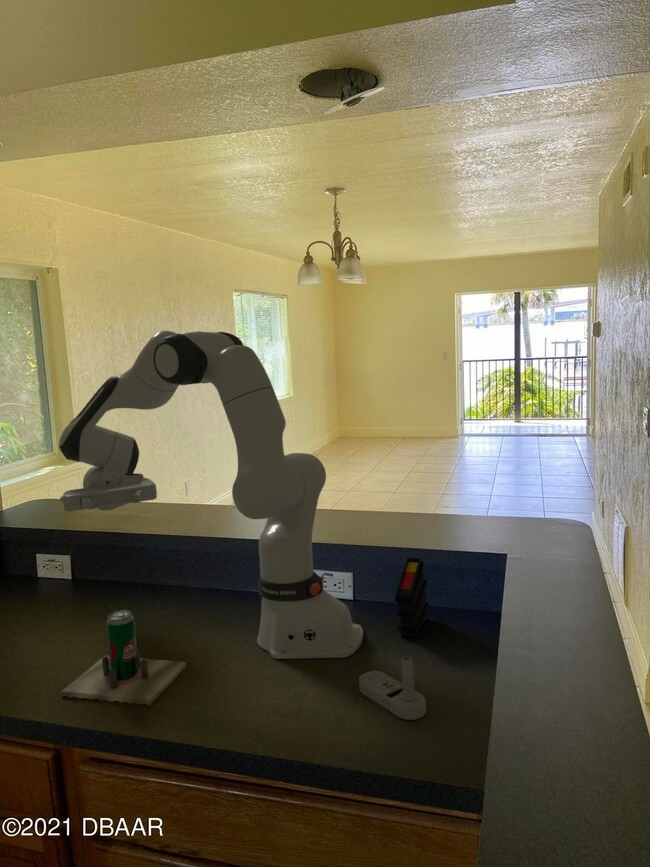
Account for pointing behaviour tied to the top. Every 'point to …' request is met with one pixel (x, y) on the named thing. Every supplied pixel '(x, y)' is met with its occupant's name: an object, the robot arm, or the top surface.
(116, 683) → the can tray
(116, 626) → the soda can
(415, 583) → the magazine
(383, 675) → the electronic device
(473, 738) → the top surface
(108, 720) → the top surface
